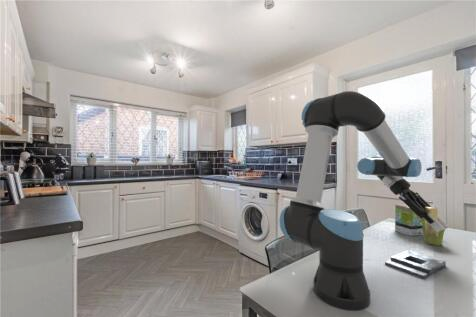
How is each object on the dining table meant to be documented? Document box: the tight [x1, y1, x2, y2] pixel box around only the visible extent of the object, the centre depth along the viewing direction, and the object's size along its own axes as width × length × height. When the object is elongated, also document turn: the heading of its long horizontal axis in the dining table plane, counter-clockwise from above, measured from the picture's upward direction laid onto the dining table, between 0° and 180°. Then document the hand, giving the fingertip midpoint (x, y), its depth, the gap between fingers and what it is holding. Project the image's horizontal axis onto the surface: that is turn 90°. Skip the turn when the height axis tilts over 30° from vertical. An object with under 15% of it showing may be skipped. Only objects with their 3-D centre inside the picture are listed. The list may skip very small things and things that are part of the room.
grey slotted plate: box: [390, 249, 447, 273], centre depth 84 cm, size 14×12×2 cm
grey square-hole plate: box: [384, 258, 442, 280], centre depth 82 cm, size 14×12×1 cm
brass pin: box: [425, 206, 439, 237], centre depth 91 cm, size 4×4×11 cm
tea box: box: [394, 203, 425, 237], centre depth 122 cm, size 15×10×15 cm, turn 105°
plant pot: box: [420, 222, 446, 246], centre depth 106 cm, size 9×9×9 cm
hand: (443, 229), depth 87 cm, fingers closed on brass pin, 4 cm apart
